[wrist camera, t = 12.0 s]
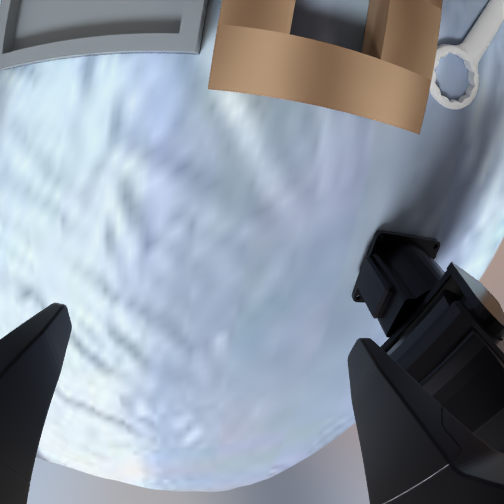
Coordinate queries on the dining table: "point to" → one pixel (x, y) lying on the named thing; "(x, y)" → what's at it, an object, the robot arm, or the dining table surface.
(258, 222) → the dining table surface
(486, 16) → the wrench
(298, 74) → the pin block
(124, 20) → the tray
